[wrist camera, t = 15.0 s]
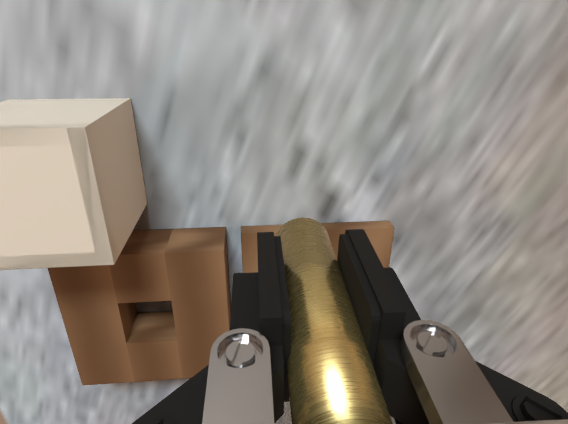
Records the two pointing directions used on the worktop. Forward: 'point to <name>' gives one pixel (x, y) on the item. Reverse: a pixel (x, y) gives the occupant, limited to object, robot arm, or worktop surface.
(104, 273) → the socket tile
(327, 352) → the brass pin
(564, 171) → the worktop surface
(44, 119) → the block
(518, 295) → the worktop surface
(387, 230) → the tile
